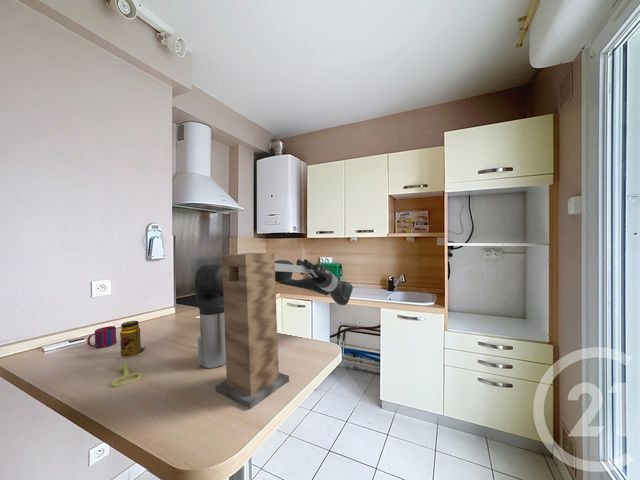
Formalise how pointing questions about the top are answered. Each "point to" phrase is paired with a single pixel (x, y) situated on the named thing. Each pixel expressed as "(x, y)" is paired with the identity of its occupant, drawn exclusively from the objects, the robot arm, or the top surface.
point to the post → (250, 328)
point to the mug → (104, 337)
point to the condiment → (130, 340)
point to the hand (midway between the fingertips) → (301, 261)
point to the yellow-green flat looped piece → (125, 377)
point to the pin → (291, 268)
